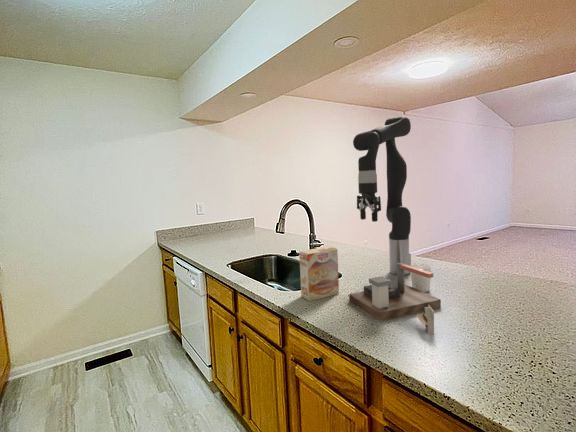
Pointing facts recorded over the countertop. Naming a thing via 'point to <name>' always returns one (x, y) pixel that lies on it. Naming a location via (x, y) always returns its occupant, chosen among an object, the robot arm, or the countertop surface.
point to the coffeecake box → (319, 273)
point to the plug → (380, 291)
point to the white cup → (421, 278)
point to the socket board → (395, 302)
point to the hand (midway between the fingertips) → (368, 220)
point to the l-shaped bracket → (402, 267)
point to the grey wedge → (427, 319)
